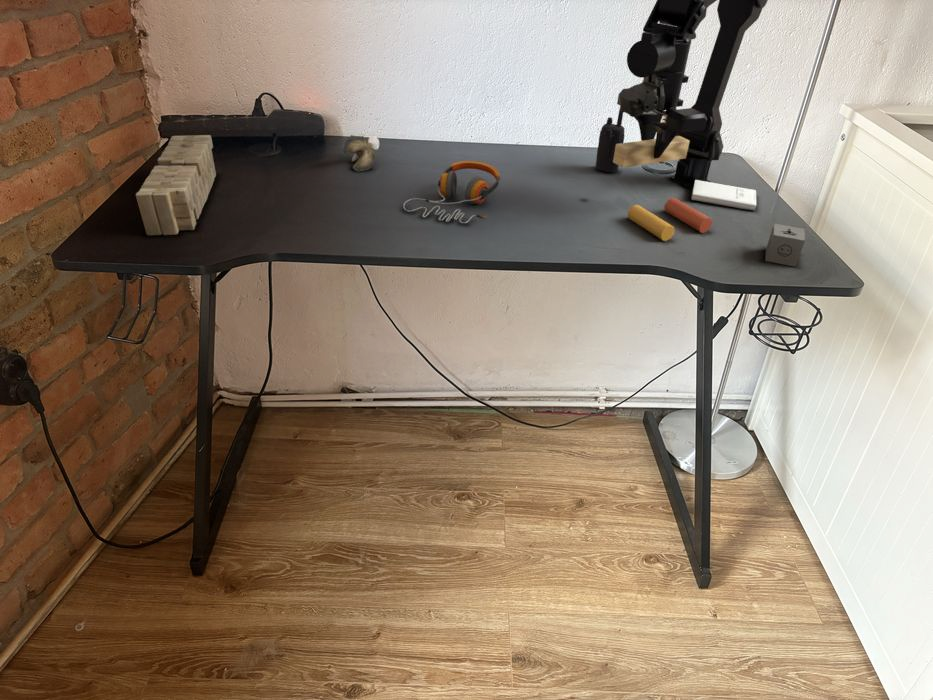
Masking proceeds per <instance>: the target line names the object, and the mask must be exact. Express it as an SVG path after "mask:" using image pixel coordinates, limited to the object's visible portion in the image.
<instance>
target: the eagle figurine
mask: <svg viewBox="0 0 933 700" xmlns="http://www.w3.org/2000/svg"><path fill="white" fill-rule="evenodd" d="M379 147H380V140H379V138H378V137H376V136H374V135H370V136H369V137H368V139H367V140H366V139H365V137H364V135H354V134H353V135H352V134H350V136H349V137H348V138H347V139H345V141H344V142H343V144H342V148H341V151H342V152H343V155H346V154H347V155H348V154H354V155H353V156H352V159H351V163H353V162H355V161H356V162H355V163H354V164H353V165H352V169H353V170H354V171H356V172H361V171H362V172H364V171H368V170H370V169H372V168H373V166H374V163H375V160H376V158H377V156H376V153H375V151H378V150H379ZM373 150H375V151H373Z"/></svg>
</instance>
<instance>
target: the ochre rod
mask: <svg viewBox="0 0 933 700" xmlns="http://www.w3.org/2000/svg"><path fill="white" fill-rule="evenodd" d="M627 218H628V219H629V220H631V222H633V223H635V224H637V225H638V226H640V227H641V228H643V229H644V230H646V231H648V232H649V233H651V234H652V235H653V236H655V237H657V238H658V239H660V240H661V241H663V242H667V241H669V240H670V239H671V238H672V237H673V235H674V234H675V227H674V226H673V225H671V224H670V223H668V222H667V221H665V220H663V219H662V218H660V217H659V216H657V215H656V214H654V213H652V212H650V211H648V210H647V209H646V208H644V207H643V206H641V205H639V204H633V205H632V206H630V208H629V209H628V212H627Z"/></svg>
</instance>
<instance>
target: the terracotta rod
mask: <svg viewBox="0 0 933 700" xmlns="http://www.w3.org/2000/svg"><path fill="white" fill-rule="evenodd" d="M664 211H665V212H666V213H668V214H669V215H671V216H672V217H675V218H676V219H677V220H679V221H681V222H682V223H684V224H686V225H688V226H689V227H691V228H692V229H694V230H696V231H698V232H699V233H701V234H704V233H705V234H706V233H707V232H708V231H709V230H710V229H711V228H712V225H713V220H712V218H711V217H709V216H707V215H705V214H704V213H702V212H701V211H699V210H697V209H695V208H694V207H692V206H690V205H688V204H687V203H684V202H682V201H681V200H679V199H677V198H676V197H671V198H669V199H667V200H666V202H665V204H664Z"/></svg>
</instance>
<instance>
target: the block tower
mask: <svg viewBox="0 0 933 700" xmlns="http://www.w3.org/2000/svg"><path fill="white" fill-rule="evenodd" d="M213 148H214V145H213V139H212V135H211V134H201V135H196V134H195V135H172V136H171V137H170V139H169V141H168V143H167V146H166V147H165V148H164V150H163V151H162V152H161V155H160V156H159V157H158V159H157V164H158V165H155V166H154V167H153V169H152V170H150V173H149V175H148V176H147V178H145V180H144V182H143V183H142V185H141V187H140V189H139V191H137V192H136V193H135V198H136V201H137V206H138V208H139V211H140V212H139V213H140V215H141V219H142V223H143V226H144V230H145V233H146V235H147V236H161V235H163V236H174V235H175V236H176V235H178V234H179V232H180V231H194V230H195V229H196V225H197V221H198V220H199V218H200V216H201V214H202V211H203V209H204V206H205V203H206V202H207V200H208V198H209V194H210V192H211V189H212V187H213V184H214V182H215V178H216V177H217V171H216V166H215V161H214V156H213V151H212V150H213Z"/></svg>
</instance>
